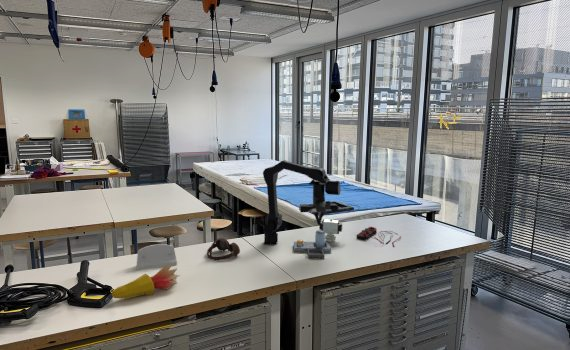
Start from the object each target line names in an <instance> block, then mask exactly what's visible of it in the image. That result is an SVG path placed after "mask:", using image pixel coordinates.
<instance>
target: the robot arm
mask: <svg viewBox="0 0 570 350" xmlns="http://www.w3.org/2000/svg"><path fill="white" fill-rule="evenodd" d="M283 170H286V171H291V172H293V173H294V172H295V173H297V174H301V175H304V176H306V177H308V178H310V179H311V180H310V181H309V183H308V185H312V205H308V204H305V203H304V204H302V203H301V204H299V206H298V208H299V209H298V210H299V212H300V213H308V212H309V211H310V212H311V213H312V214H313V215H314V217H315V221H316V223H317V226H319V225H320V222H322V221H323V217H324V215H325V214H327V213H328V210H330V211H332V212H339V210H340V209H339V208H340V207H339V206H338V205H337V204H336V203H331V200H328V201H327V200H326V197H325V195H330V196H331V195H333V196H340V194H341V189H342V187H341V184H340V180H331V179H330V178H329V177H328V175H327V173H326V170H325V169H324V168H322V167H318V166H317V167H316V166H312V167H311V166H306V165H302V164H298V163H295V162H292V161H288V160H286V159H284V160H281V161H280V162H278V163H277V164H275V165H272V166H270V167H267V168H264V169H263V171H262V175H263V180H264V182H265V184H266V187H267V188H266V189H267V202H268V215H267V218H266V225H265V226H264V227H263V228H262V232H263V234H264V235H263V236H264V240H263V241H264V242H263V244H264V245H277V244H278V242H279V241H278V240H279V239H278V238H279V236H278V231H277V230H279V228H280V227H281V225H282V223H283V222H284V220H283V214H282V213H281V214H280V212H279V210H278V209H279V208H278V207H279V206H278V196H277V194H278V193H277V182H278V178H279V173H281V172H282V171H283Z"/></svg>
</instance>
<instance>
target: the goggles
mask: <svg viewBox="0 0 570 350" xmlns="http://www.w3.org/2000/svg"><path fill="white" fill-rule="evenodd" d="M216 248H217V250H218V251H220V250H223V251H224V252H225V251H228V252H230V253H228V254H225V255H220V256H219V255H217V256H213V255H212V253H213V250H214V249H216ZM240 253H241V249H240V247H239V245H238V244H237V243H236V242H231V243H230V242H229V240H228V239H226V238H222V237H219V238H216V239H215V240H214V241H213V242H212V244H211V245H210V246H209V248H208V249H207V251H206V256H207V257H208V259H210V260H212V259H214V260H213V261H223V260H228V259H230V258H234V256H235V257H237V256H238V255H239V254H240Z"/></svg>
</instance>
